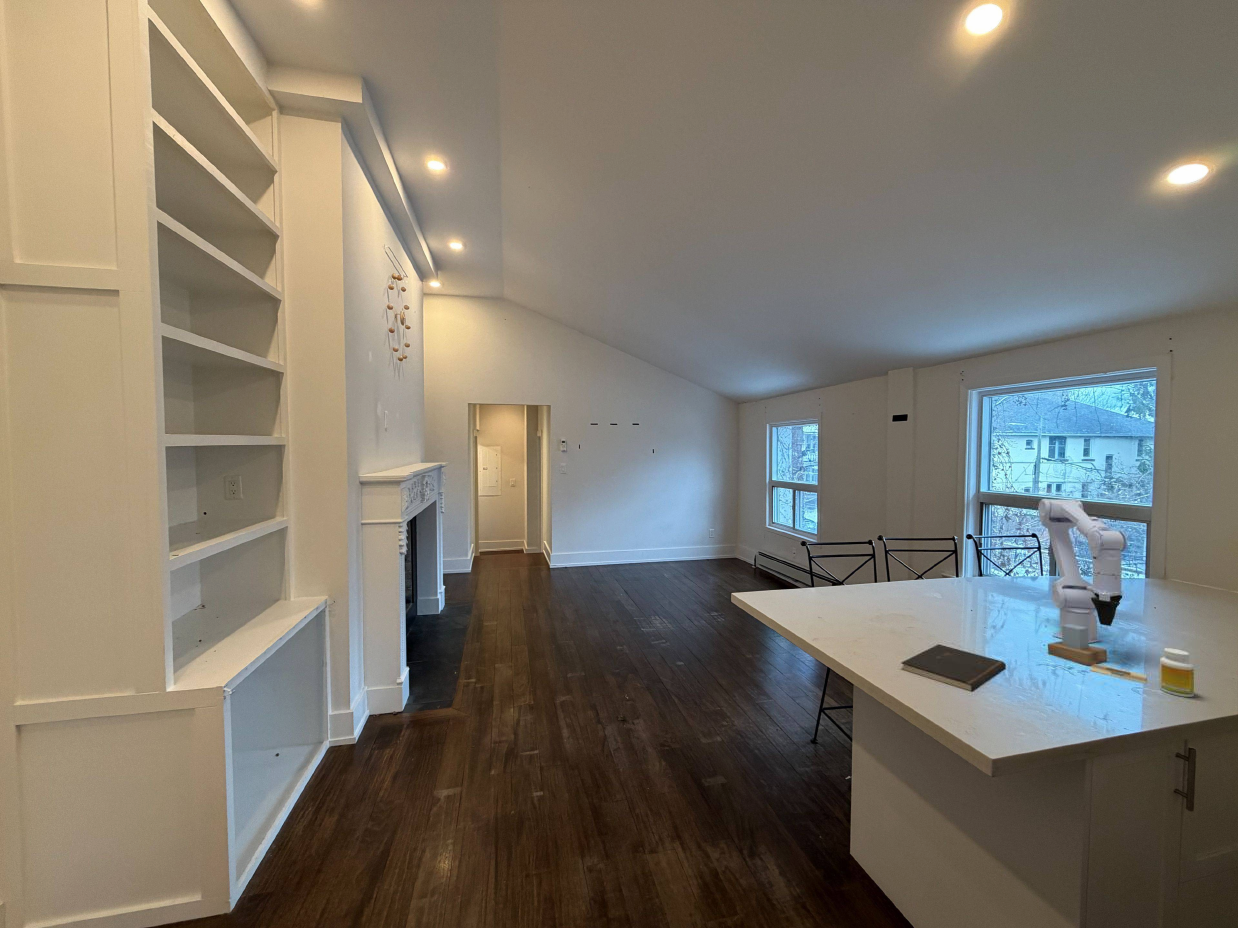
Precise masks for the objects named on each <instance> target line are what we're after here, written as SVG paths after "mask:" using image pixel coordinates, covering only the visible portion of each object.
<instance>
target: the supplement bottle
mask: <svg viewBox="0 0 1238 928" xmlns="http://www.w3.org/2000/svg"><path fill="white" fill-rule="evenodd" d="M1163 655H1164V656H1163V657H1160V658H1159V663H1158V664H1159V682H1158V683H1159V689H1160V690H1162V692H1165V693H1167V694H1170V695H1174V696H1178V697H1184V698H1190V697H1191V698H1192V697H1194V695H1195V679H1194V678H1195V677H1194V676H1195V666H1194V665H1193V663H1192V662H1190V661H1189V660H1190V653H1189V652H1188V651H1184V650H1180V649H1177V648H1176V649H1175V648H1171V647H1170V648H1169V647H1167V648H1166V647H1165V648H1163Z"/></svg>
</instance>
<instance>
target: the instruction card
mask: <svg viewBox="0 0 1238 928" xmlns="http://www.w3.org/2000/svg"><path fill="white" fill-rule="evenodd" d="M1089 672H1093V673H1096V674H1097V673H1098V674H1101V675H1104V676H1105V675H1107V676H1110V677H1115V678H1119V679H1124V680H1129V681H1133V682H1137V683H1141V684H1145V685H1146V684H1147V676H1148V675H1147V674H1143V673H1138V672H1136V671H1135V672H1134V671H1130V670H1126V669H1125V670H1124V669H1121V668H1116V667H1112V666H1107V665H1103V664H1099V663H1096V664H1092V665H1090V668H1089Z"/></svg>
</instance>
